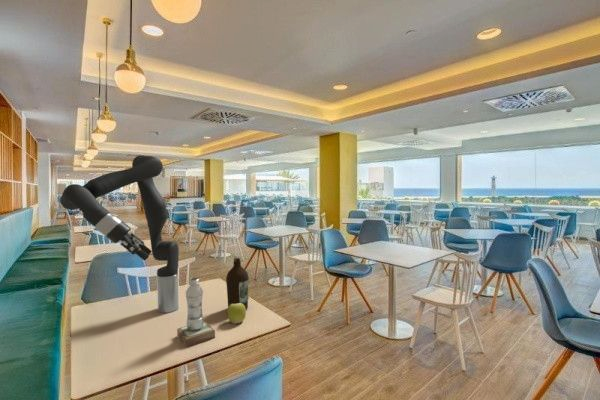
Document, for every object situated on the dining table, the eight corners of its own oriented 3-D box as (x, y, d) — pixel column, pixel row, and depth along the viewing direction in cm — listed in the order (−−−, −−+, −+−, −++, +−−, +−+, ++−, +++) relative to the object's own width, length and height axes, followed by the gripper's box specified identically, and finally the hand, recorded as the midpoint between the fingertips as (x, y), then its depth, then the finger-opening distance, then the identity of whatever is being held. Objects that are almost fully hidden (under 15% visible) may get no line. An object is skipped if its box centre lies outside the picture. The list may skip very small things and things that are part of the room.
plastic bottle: (207, 326, 125) (206, 277, 124) (196, 333, 118) (195, 282, 117) (194, 324, 127) (192, 276, 126) (182, 331, 120) (181, 280, 119)
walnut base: (177, 336, 123) (177, 328, 123) (204, 327, 130) (203, 320, 130) (187, 347, 115) (186, 338, 115) (215, 337, 122) (214, 329, 122)
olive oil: (222, 310, 148) (221, 259, 147) (236, 303, 157) (235, 254, 156) (239, 315, 143) (238, 261, 142) (253, 307, 152) (252, 257, 151)
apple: (244, 324, 131) (237, 301, 131) (228, 328, 133) (221, 305, 133) (251, 316, 139) (244, 295, 139) (235, 320, 141) (229, 299, 141)
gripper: (116, 222, 108) (154, 252, 112) (124, 218, 121) (157, 245, 126) (99, 238, 106) (138, 268, 111) (109, 232, 120) (143, 259, 124)
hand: (148, 255), depth 118 cm, fingers open, 8 cm apart
